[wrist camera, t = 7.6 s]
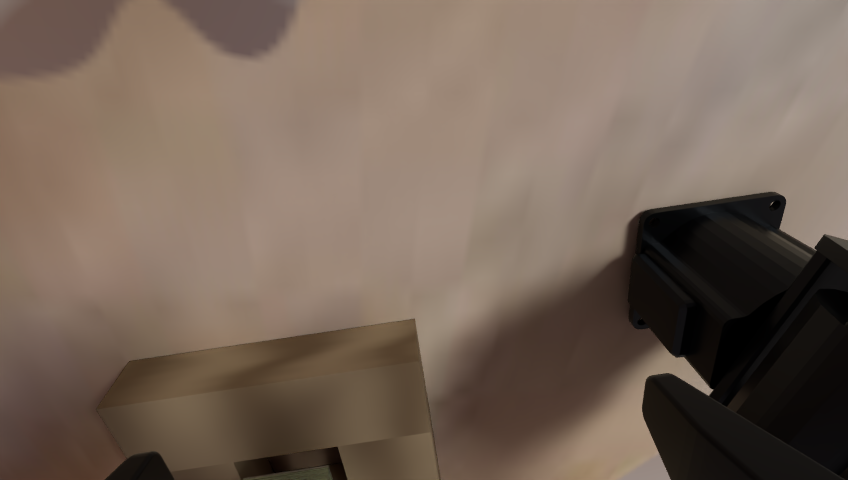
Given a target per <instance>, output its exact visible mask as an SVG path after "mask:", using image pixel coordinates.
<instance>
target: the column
mask: <svg viewBox="0 0 848 480" xmlns="http://www.w3.org/2000/svg"><path fill="white" fill-rule="evenodd" d="M243 480H333V478H332V475H331V472H330V469H329V466H328V465H326V466H320V467H313V468H307V469H300V470H294V471H287V472H281V473H274V474H268V475H261V476H254V477H248V478H244V479H243Z"/></svg>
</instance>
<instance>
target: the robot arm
mask: <svg viewBox="0 0 848 480" xmlns="http://www.w3.org/2000/svg"><path fill="white" fill-rule="evenodd" d="M773 201H774V202H773ZM772 202H773V204H772V205H771V206H770V204H771V203H772ZM785 205H786V199H785V197H784V196H782V195H780V194H778V193H776V192H767V193H760V194H753V195H746V196H739V197H732V198H725V199H718V200H712V201H705V202H698V203H691V204H684V205H677V206H670V207H663V208H657V209H650V210H647V211H646V212H644V213H643V214H642V215H641V217H640V220H639V227H638V236H637V246H636V255H635V256H634V257H633V259H632V265H631V275H630V285H629V295H628V302H629V303H630V312H629V321H630V322H631V324H632V325H633V326H634V327H635V328H636V329H646V328H650V329H651V330H652V331H653V333H654V334H655V335H656V336H657V338H658V339H659V340H660V341H661V342H662V344H663V345H664V346H665V347H666V349H667V350H668V351H669V352H670V353H671V354H672V355H673V356H675V357H676V358H678V357H684V358H685V359H686V360H687V361H688V362H689V363H690V365H691V366H692V367H693V368H694V369H695V371H696V372H697V373H698V374H699V375H700V376H701V378H702V379H703V380H704V381H705V382H706V384H707V385H708V386H709V387H710V388H711V389H714V390H713V391H712V392H711V394H710V395H709V396H708V395H706V394H704V393H703V392H701V391H699V390H698V389H696V388H695V387H693V386H691V385H690V384H688V383H686V382H685V381H683V380H681V379H680V378H678V377H677V376H675V375H673V374H670V373H665V374H658V375H651V376H649V377H648V378H647V379H646V382H645V390H644V397H643V404H642V412H643V417H644V420H645V422H646V424H647V427H648V429H649V431H650V434H651V436H652V438H653V440H654V443H655V445H656V447H657V449H658V452H659V454H660V456H661V458H662V460H663V463H664V465H665V467H666V470H667V472H668V474H669V477H670V479H671V480H848V240H844V239H841V238H837V237H833V236H830V235H826V234H824V235H823V237H822V238H821V240H820V241H819V242H818V244H817V245H816V246H815V249H816V250H817V251H816V250H814V249H812V248H811V247H809V246H807V245H805V244H804V243H802V242H800V241H798V240H797V239H795V238H793V237H792V236H790V235H788V234H786V233H785V232H783V231H781V230H780V229H779V228H780V224H781V221H782V217H783V213H784V209H785ZM653 218H656V219H655V221H654V222H653V223H652V224H649V222H650V221H651V220H652V219H653ZM640 318H642V319H641V320H639V319H640ZM105 480H174V477H173V476H172V474H171V472H170V470H169V469H168V467H167V465H166V463H165V462H164V460H163V458H162V456H161V455H160V454H159V453H158V452H156V451H150V452H144V453H137V454H134V455H132V456H130V457H129V458H128V459H126V460H125V461H124V462H123V463H122V464H121V465H120V466H119V467H118V468H117V469H116V470H115V471H114V472H112V473H111V474H110V475H109V476H108V477H107V478H106V479H105Z"/></svg>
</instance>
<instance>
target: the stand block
mask: <svg viewBox="0 0 848 480" xmlns="http://www.w3.org/2000/svg"><path fill="white" fill-rule="evenodd" d="M96 410H97V412H98V414H99V415H100V417H101V418H102V420H103V422H104V423H105V425H106V426H107V428H108V429H109V431H110V433H111V434H112V436H113V437H114V439H115V441H116V442H117V444H118V445H119V447H120V449H121V450H122V452H123V453H124V455H125V456H126V458H127V459H128V458H129V457H130V456H132V455H134V454H137V453H144V452H150V451H156V452H158V453H159V454H160V455H161V456H162V458H163V460H164V462H165V463H166V465H167V467H168V469H169V470H170V472H171V474H172V476H173V477H174V480H243V479H244V478H248V477H254V476H261V475H268V474H274V472H273V470H272V467H271V465H270V462H269V460H268V458H267V457H272V456H278V455H285V454H291V453H298V452H305V451H311V450H318V449H324V448H331V447H337V446H338V450H339V453H340V456H341V460H342V463H339V464H332V465H328V466H329V469H330V472H331V475H332V478H333V480H441V479H440V473H439V466H438V460H437V454H436V448H435V442H434V435H433V429H432V423H431V417H430V411H429V404H428V398H427V392H426V386H425V380H424V373H423V367H422V361H421V355H420V349H419V342H418V336H417V330H416V324H415V319H412V320H405V321H398V322H391V323H385V324H378V325H371V326H364V327H358V328H351V329H344V330H337V331H331V332H324V333H317V334H310V335H304V336H297V337H290V338H283V339H277V340H270V341H263V342H256V343H250V344H243V345H236V346H229V347H223V348H216V349H209V350H202V351H196V352H189V353H182V354H175V355H169V356H162V357H155V358H148V359H142V360H135V361H129V362H128V364H127V365H126V367H125V368H124V370H123V371H122V373H121V374H120V375H119V377H118V378H117V380H116V381H115V383H114V384H113V386H112V387H111V388H110V390H109V391H108V393H107V394H106V396H105V397H104V399H103V400H102V401H101V403H100V404H99V406H98V407H97V409H96ZM319 467H320V466H319ZM306 469H307V468H306ZM293 471H294V470H293ZM280 473H281V472H280Z"/></svg>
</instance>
